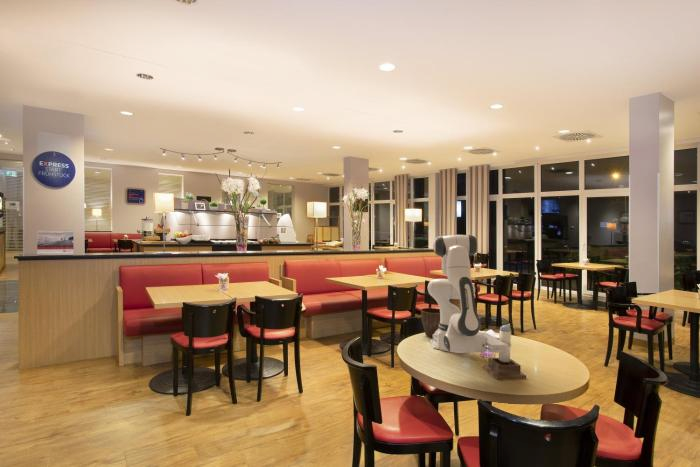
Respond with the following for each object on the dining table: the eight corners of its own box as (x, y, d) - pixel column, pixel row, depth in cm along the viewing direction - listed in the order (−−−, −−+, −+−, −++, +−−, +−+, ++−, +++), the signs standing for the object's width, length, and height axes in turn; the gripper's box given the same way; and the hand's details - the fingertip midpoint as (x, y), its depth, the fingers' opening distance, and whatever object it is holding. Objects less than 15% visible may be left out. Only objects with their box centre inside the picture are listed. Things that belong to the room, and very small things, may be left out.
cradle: (482, 368, 190) (483, 356, 190) (510, 367, 192) (510, 356, 192) (497, 379, 176) (497, 367, 176) (526, 378, 178) (526, 366, 178)
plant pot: (436, 331, 253) (437, 307, 253) (449, 338, 239) (449, 312, 239) (415, 333, 249) (416, 308, 249) (427, 340, 235) (427, 313, 234)
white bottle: (496, 358, 186) (497, 324, 186) (506, 358, 187) (507, 323, 186) (501, 362, 181) (502, 326, 181) (512, 361, 182) (513, 326, 181)
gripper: (489, 342, 172) (518, 342, 173) (469, 330, 192) (496, 329, 194) (488, 356, 172) (518, 356, 173) (469, 342, 192) (495, 342, 194)
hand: (506, 342), depth 184 cm, fingers closed on white bottle, 5 cm apart
